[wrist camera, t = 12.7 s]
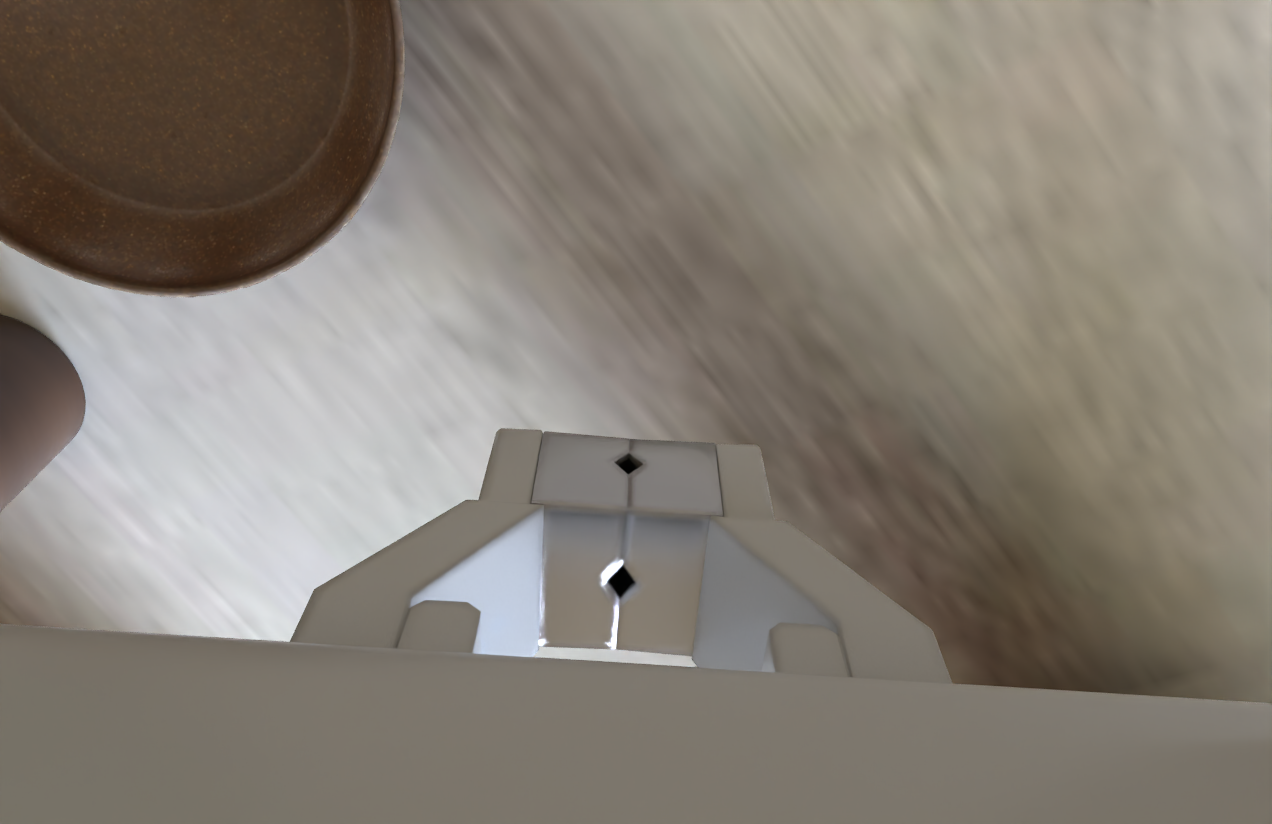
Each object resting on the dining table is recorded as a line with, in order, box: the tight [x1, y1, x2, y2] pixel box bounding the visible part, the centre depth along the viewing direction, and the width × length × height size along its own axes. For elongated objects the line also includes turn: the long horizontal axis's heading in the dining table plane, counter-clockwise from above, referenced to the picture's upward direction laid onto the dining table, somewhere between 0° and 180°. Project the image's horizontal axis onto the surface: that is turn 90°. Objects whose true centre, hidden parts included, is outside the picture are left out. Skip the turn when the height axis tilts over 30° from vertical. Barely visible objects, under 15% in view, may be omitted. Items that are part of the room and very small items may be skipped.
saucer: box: [0, 0, 405, 297], centre depth 27 cm, size 15×15×3 cm
